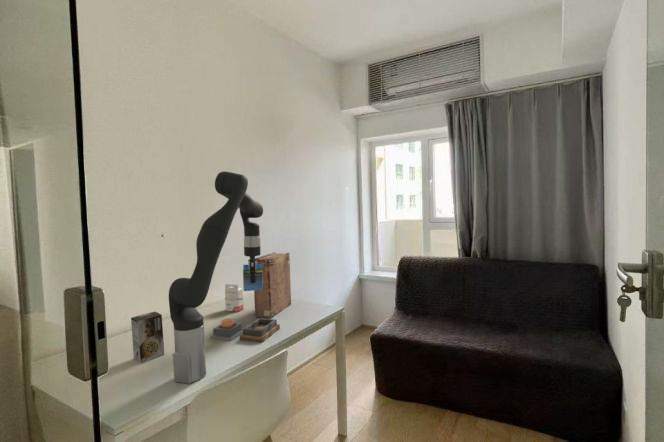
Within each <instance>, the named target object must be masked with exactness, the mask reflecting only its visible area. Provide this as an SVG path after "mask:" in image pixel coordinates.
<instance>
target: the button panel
mask: <svg viewBox="0 0 664 442" xmlns="http://www.w3.org/2000/svg"><path fill="white" fill-rule="evenodd" d="M212 333H213V334H210V335H209V339H212V340H213V339H214V340H224V341H233V340H235V339H236V338H238V337H240V335H241V334H242V333H243V323H241V322H234V326H233V327H232V328H230V329H227V328H222V325H221V324H218V325H217V326H215V327H213V328H212Z"/></svg>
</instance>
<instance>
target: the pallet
mask: <svg viewBox="0 0 664 442" xmlns="http://www.w3.org/2000/svg"><path fill="white" fill-rule="evenodd" d="M277 321H278V320H277V319H273V318H262V317H258V318H257V319H256V320H254V321H253V322H251V323H250V324H248V325H247V326H245V327H242V329H243V333H242V334H241V335H239V340H240V341H248V342H256V343H257V342H259V343H264V342H266V340H268V339H269V338H270V337H272V335H274V334H275V333H277V331H279V330H280V329H281V326H280V324H278V323H277Z"/></svg>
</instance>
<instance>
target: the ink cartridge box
mask: <svg viewBox="0 0 664 442" xmlns="http://www.w3.org/2000/svg"><path fill="white" fill-rule="evenodd" d="M224 296H225V297H224V299H225V311H226V312H238V313H239V312H240V311H241V312H242V311H243V310H244V288H242V287H240V288H239V285H238V284H225V285H224Z"/></svg>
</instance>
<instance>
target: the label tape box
mask: <svg viewBox="0 0 664 442" xmlns="http://www.w3.org/2000/svg"><path fill="white" fill-rule="evenodd" d="M242 267H243V268H242V273H243V274H242V277H243V278H242V280H243V281H242V283H243V292H249V291H250V292H251V291H254V290H263V273H262V264H256V270H255V272H256V274H255V283H251V282H250V270H249V264H243V265H242ZM251 272H254V270H251Z"/></svg>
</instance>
